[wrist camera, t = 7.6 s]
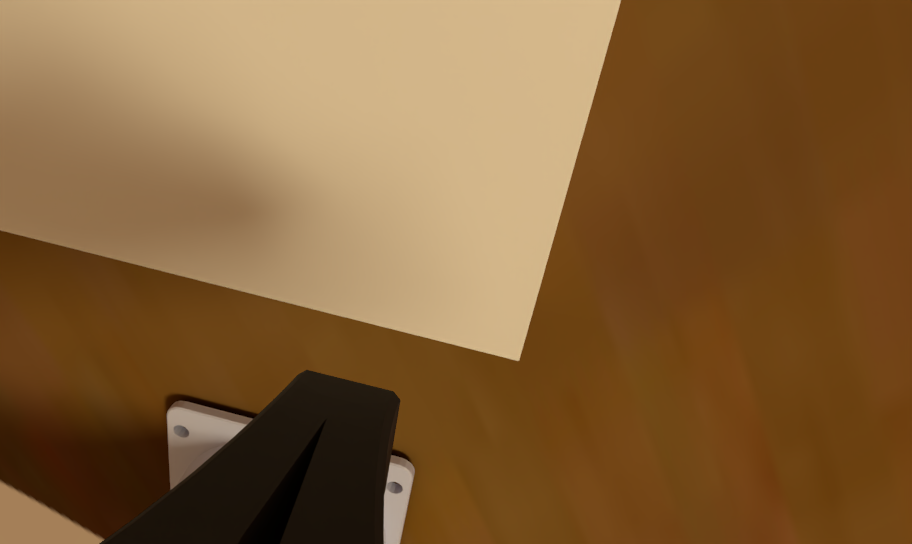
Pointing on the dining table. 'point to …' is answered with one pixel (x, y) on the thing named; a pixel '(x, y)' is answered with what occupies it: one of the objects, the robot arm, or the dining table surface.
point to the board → (308, 147)
